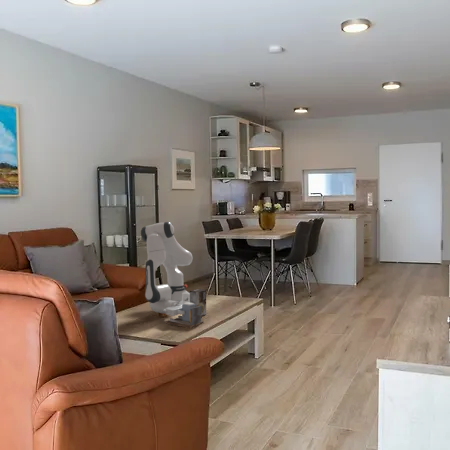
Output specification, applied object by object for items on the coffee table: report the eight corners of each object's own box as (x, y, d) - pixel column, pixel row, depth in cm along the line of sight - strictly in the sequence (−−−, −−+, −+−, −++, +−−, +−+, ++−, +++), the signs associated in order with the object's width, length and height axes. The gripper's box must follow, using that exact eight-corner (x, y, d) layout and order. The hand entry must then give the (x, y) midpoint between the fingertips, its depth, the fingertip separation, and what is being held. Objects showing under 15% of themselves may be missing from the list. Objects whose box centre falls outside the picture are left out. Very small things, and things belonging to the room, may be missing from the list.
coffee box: (199, 312, 336) (200, 288, 335) (206, 314, 332) (206, 289, 330) (189, 315, 330) (189, 290, 329) (196, 317, 325) (196, 291, 324)
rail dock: (180, 318, 321) (180, 301, 320) (203, 322, 311) (203, 305, 310) (165, 323, 309) (165, 305, 309) (189, 328, 299) (189, 309, 298)
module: (187, 320, 312) (187, 301, 311) (195, 322, 309) (195, 303, 308) (182, 322, 308) (182, 303, 307) (190, 323, 304) (190, 304, 304)
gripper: (160, 306, 306) (178, 309, 298) (182, 300, 323) (200, 302, 315) (161, 316, 307) (178, 319, 299) (182, 309, 324) (200, 313, 316)
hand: (189, 311), depth 307 cm, fingers open, 8 cm apart
